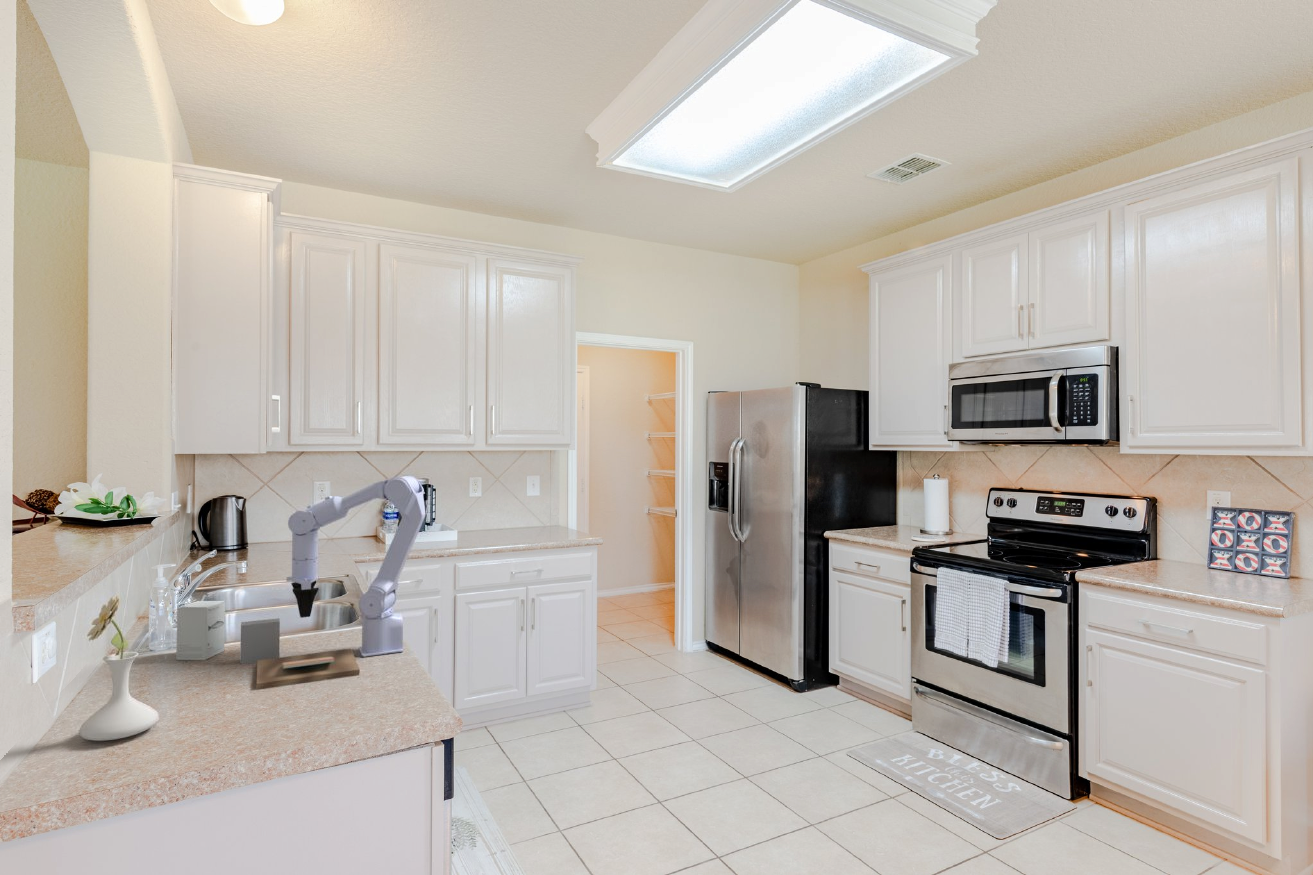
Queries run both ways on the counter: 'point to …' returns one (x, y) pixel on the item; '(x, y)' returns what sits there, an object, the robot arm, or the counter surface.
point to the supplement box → (200, 630)
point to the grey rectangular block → (260, 640)
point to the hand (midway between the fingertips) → (304, 613)
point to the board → (305, 669)
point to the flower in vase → (117, 690)
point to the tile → (308, 662)
